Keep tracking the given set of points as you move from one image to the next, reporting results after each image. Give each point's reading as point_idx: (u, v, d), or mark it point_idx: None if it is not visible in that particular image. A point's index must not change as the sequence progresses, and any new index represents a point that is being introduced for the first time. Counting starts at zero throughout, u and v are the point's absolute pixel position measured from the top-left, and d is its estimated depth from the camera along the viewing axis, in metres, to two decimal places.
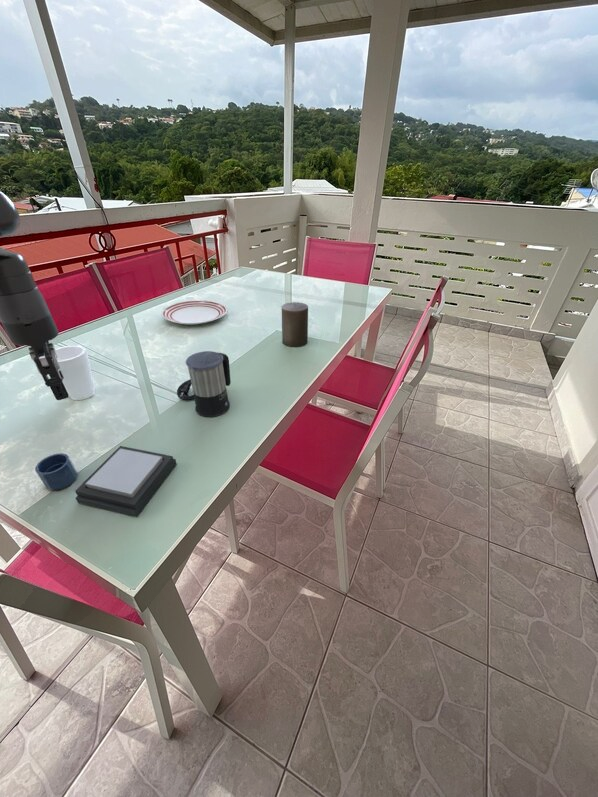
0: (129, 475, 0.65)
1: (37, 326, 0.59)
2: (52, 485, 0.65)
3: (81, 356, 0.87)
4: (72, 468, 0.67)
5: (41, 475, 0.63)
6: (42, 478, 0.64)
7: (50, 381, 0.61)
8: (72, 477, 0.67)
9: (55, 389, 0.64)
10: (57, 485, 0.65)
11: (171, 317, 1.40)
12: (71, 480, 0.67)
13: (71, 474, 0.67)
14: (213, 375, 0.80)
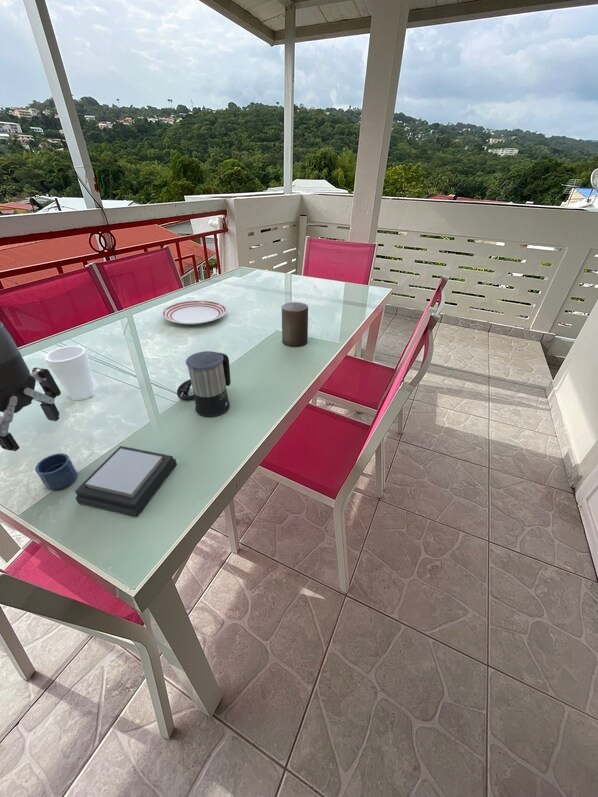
0: (129, 475, 0.65)
1: None
2: (52, 485, 0.65)
3: (81, 356, 0.87)
4: (72, 468, 0.67)
5: (41, 475, 0.63)
6: (42, 478, 0.64)
7: None
8: (72, 477, 0.67)
9: None
10: (57, 485, 0.65)
11: (171, 317, 1.40)
12: (71, 480, 0.67)
13: (71, 474, 0.67)
14: (213, 375, 0.80)
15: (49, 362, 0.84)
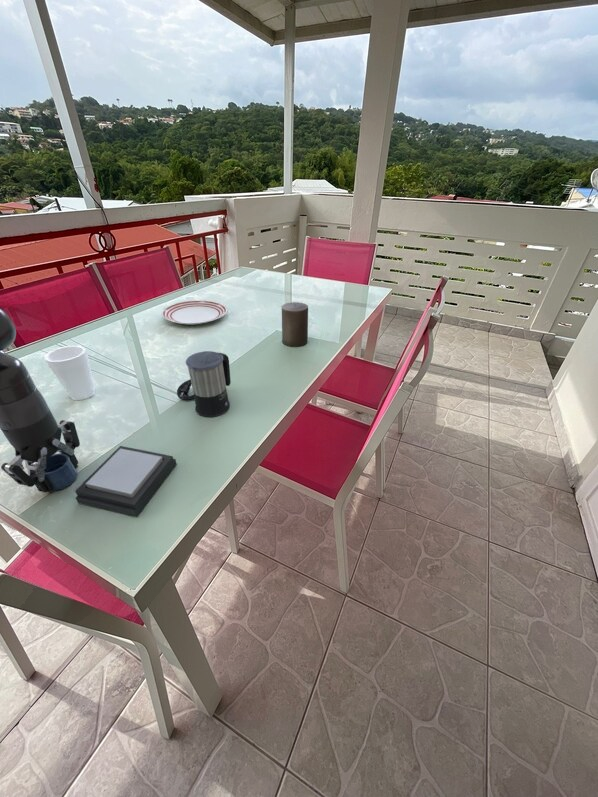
0: (129, 475, 0.65)
1: (14, 433, 0.56)
2: (52, 485, 0.65)
3: (81, 356, 0.87)
4: (72, 468, 0.67)
5: None
6: None
7: (21, 481, 0.60)
8: (72, 477, 0.67)
9: (35, 484, 0.63)
10: (57, 485, 0.65)
11: (171, 317, 1.40)
12: (71, 480, 0.67)
13: (71, 474, 0.67)
14: (213, 375, 0.80)
15: (49, 362, 0.84)
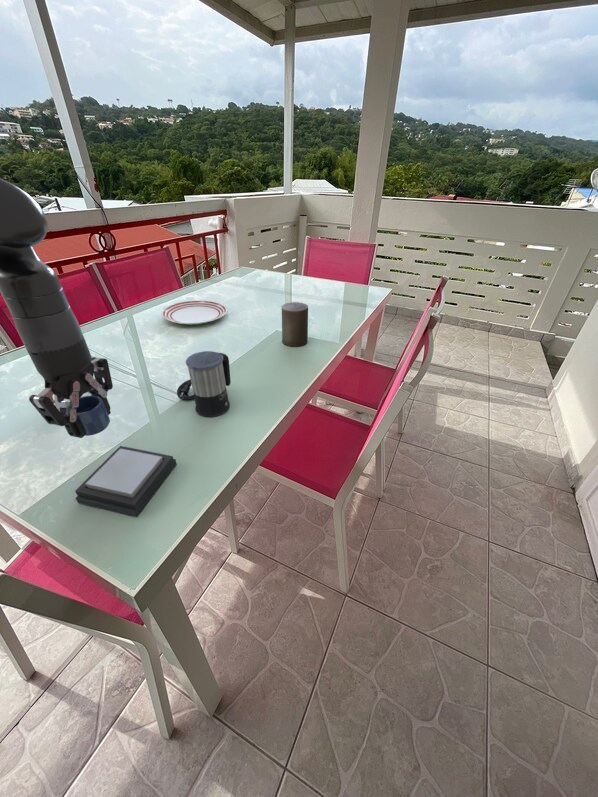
0: (129, 475, 0.65)
1: (44, 358, 0.48)
2: (84, 429, 0.56)
3: None
4: (105, 412, 0.59)
5: None
6: None
7: (51, 420, 0.52)
8: (105, 422, 0.59)
9: (66, 426, 0.55)
10: (89, 429, 0.57)
11: (171, 317, 1.40)
12: (104, 425, 0.59)
13: (104, 418, 0.58)
14: (213, 375, 0.80)
15: None
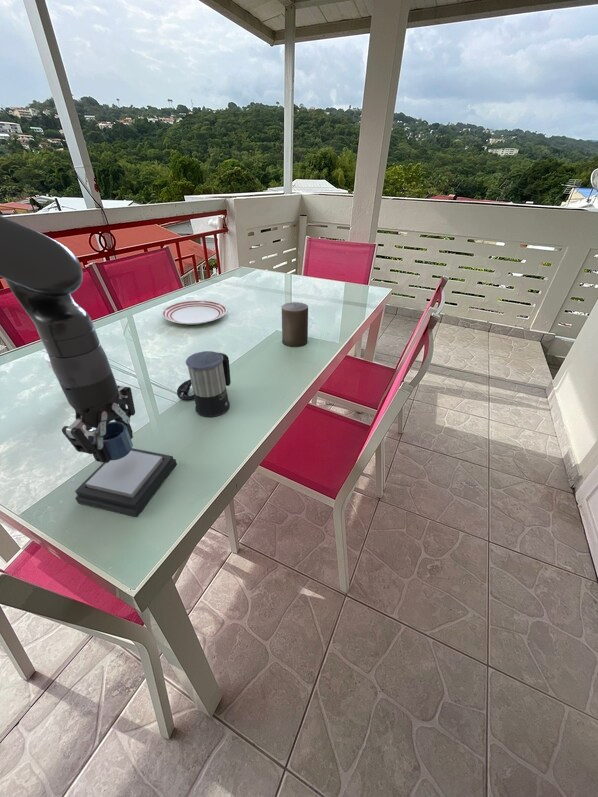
0: (129, 475, 0.65)
1: (77, 392, 0.51)
2: (109, 454, 0.60)
3: None
4: (129, 437, 0.62)
5: None
6: None
7: (81, 448, 0.55)
8: (129, 447, 0.62)
9: (93, 453, 0.58)
10: (114, 455, 0.60)
11: (171, 317, 1.40)
12: (128, 450, 0.62)
13: (128, 443, 0.62)
14: (213, 375, 0.80)
15: (49, 362, 0.84)
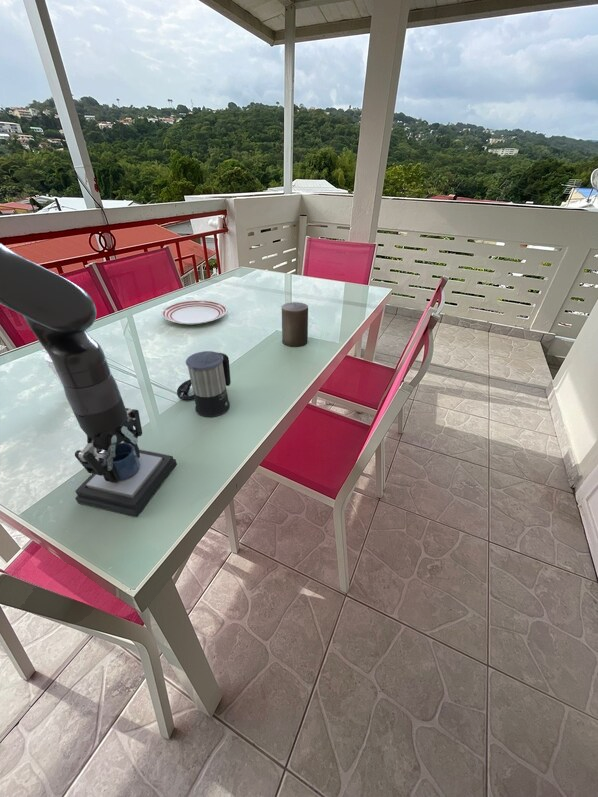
0: None
1: (89, 419, 0.54)
2: (118, 475, 0.63)
3: None
4: (136, 457, 0.65)
5: None
6: None
7: (92, 470, 0.58)
8: (137, 467, 0.65)
9: (103, 474, 0.61)
10: (123, 475, 0.63)
11: (171, 317, 1.40)
12: (136, 470, 0.65)
13: (136, 464, 0.65)
14: (213, 375, 0.80)
15: (49, 362, 0.84)
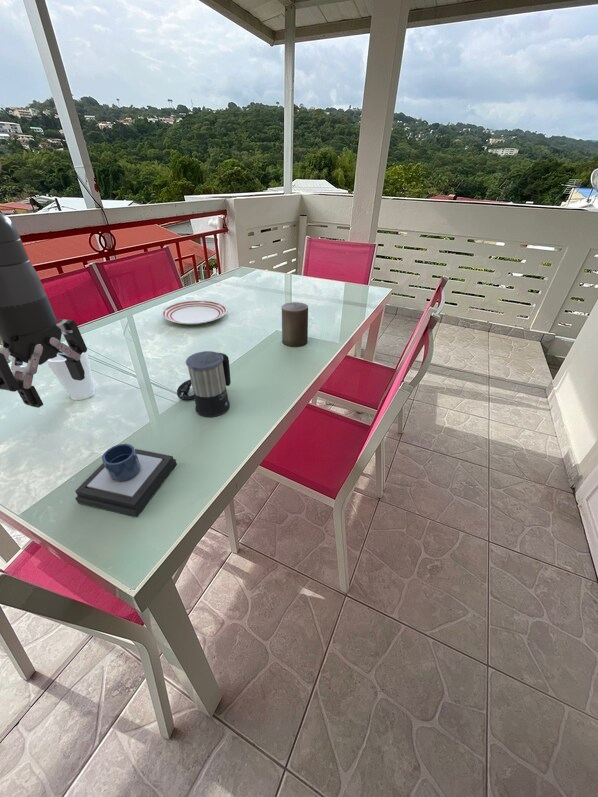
0: None
1: (0, 314, 0.44)
2: (119, 476, 0.63)
3: (81, 356, 0.87)
4: (137, 459, 0.65)
5: (109, 465, 0.61)
6: (110, 469, 0.62)
7: (1, 384, 0.47)
8: (137, 468, 0.65)
9: (20, 394, 0.50)
10: (124, 476, 0.63)
11: (171, 317, 1.40)
12: (136, 471, 0.65)
13: (136, 465, 0.65)
14: (213, 375, 0.80)
15: (49, 362, 0.84)
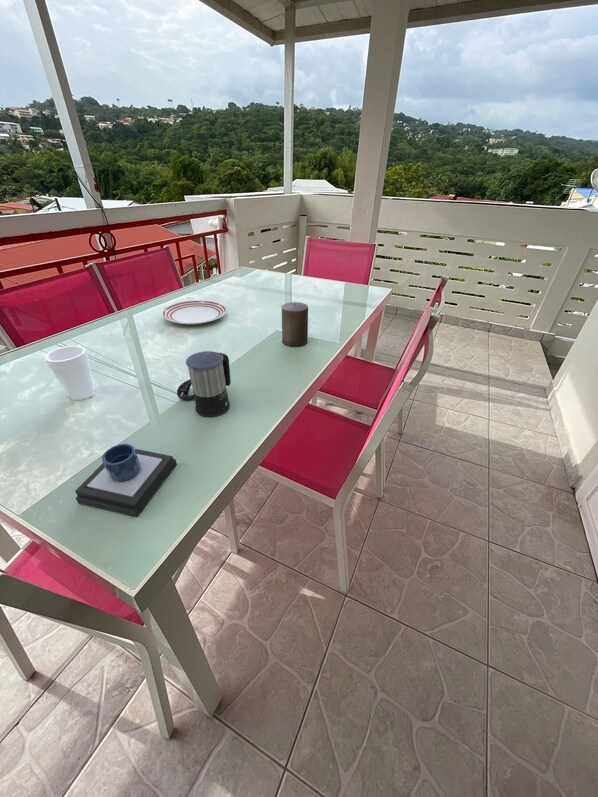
0: None
1: None
2: (119, 476, 0.63)
3: (81, 356, 0.87)
4: (137, 459, 0.65)
5: (109, 465, 0.61)
6: (110, 469, 0.62)
7: None
8: (137, 468, 0.65)
9: None
10: (124, 476, 0.63)
11: (171, 317, 1.40)
12: (136, 471, 0.65)
13: (136, 465, 0.65)
14: (213, 375, 0.80)
15: (49, 362, 0.84)
